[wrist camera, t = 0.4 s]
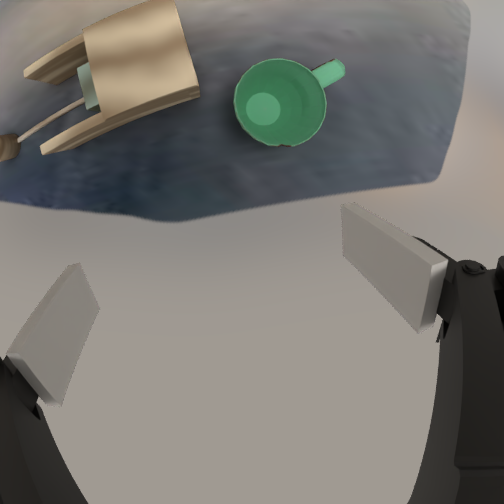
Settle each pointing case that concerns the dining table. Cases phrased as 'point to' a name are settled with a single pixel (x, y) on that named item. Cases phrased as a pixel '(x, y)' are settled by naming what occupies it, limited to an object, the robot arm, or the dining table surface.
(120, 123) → the tan wooden arch
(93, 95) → the tethered block
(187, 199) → the dining table surface
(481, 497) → the robot arm
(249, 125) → the mug
